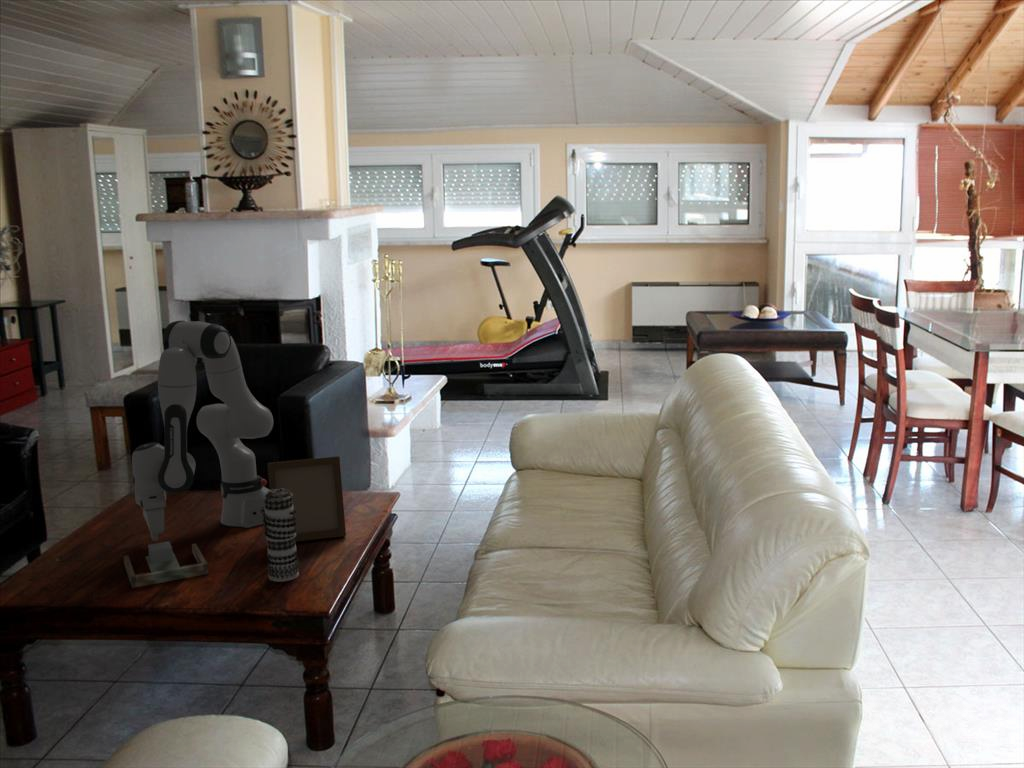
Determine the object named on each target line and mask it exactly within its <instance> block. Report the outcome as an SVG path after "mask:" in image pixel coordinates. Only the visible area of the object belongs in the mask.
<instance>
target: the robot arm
mask: <svg viewBox="0 0 1024 768" xmlns="http://www.w3.org/2000/svg"><path fill="white" fill-rule="evenodd" d="M162 344H163V345H162V346H163V352H161V354H160V358H159V365H158V370H157V392H158V393H157V394H158V399H159V404H160V411H161V414H162V421H163V428H164V446H163V445H162V444H160V443H159V442H147V443H143V444H140V445H139V446H137V447H136V448H135V449H134V450H133V452H132V454H131V455H132V457H131V459H132V460H131V467H132V476H133V477H134V478H133V479H134V485H133V486H134V488H133V489H134V499H135V503H136V505H138V506H140V508H141V509H142V514H143V518H144V520H145V522H146V524H147V526H148V529H149V531H150V537H151V540H152V541H158V540H159V534H163V533H164V532H165V531H164V530H165V508H166V507H167V506H166V505H167V503H166V501H167V493H168V494H172V495H179V494H183V493H185V492H187V491H188V490H189V489H190V488H191V487H192V485H193V483H194V482H195V481H194V480H195V479H194V478H195V473H196V472H195V471H196V469H197V464H196V459H195V457H194V456H193V455H192V454H191V453H190V452H189V451H188V426H189V422H190V419H191V416H192V413H193V410H194V407H195V403H196V400H197V399H196V397H197V390H198V389H197V388H198V386H197V385H198V384H197V383H198V382H197V370H196V364H197V362H198V360H199V359H201V358H202V359H203V365H204V370H205V375H206V379H207V383H208V387H209V391H210V392H211V394H212V395H213V396H214V397H216V398H217V399H219V400H220V401H222V402H223V403H214V404H207V405H204V406H202V407H201V408H200V409H199V411H198V412H197V414H196V415H197V416H196V419H195V420H196V421H195V422H196V426H197V429H198V431H199V432H200V433H201V434H202V435H203V436H204V437H206V438H207V439H208V440H209V441H210V443H211V444H212V446H213V447H214V450H216V453H217V455H218V459H219V464H220V471H221V472H220V473H221V480H220V492H221V497H222V510H221V516H220V517H221V518H220V521H219V522H220V524H222V525H224V526H227V527H241V528H246V529H249V528H253V527H257V526H262V525H265V524H264V522H263V520H264V519H263V518H264V517H263V514H262V513H263V512H264V511H265V509H264V507H265V501H264V498H263V497H264V496H265V495H266V494H267V492H268V491H269V488H268V487H266V486H267V484H268V481H267V480H266V479H265V478H263V477H261V476H260V475H258V474H257V463H256V460H257V459H256V456H255V455H256V454H255V453H254V452H253V451H252V449H250V448H248V447H247V446H246V445H244V444H243V442H242V441H241V439H247V440H248V439H249V440H250V439H251V440H254V439H258V438H264V437H267V436H268V435H269V434H270V433H271V431H272V430H273V427H274V417H273V414H272V412H271V410H270V409H269V408H268V407H266V406H265V405H263V404H262V403H260V402H259V401H258V400H257V399H256V397H255V396H254V395H253V394H252V393H251V391H250V389H249V387H248V385H247V382H246V378H245V375H244V371H243V365H242V361H241V358H240V357H241V356H240V354H239V351H238V347H237V345H236V343H235V341H234V338H233V337H232V336H231V334H230V332H229V331H228V329H227V328H225V327H224V326H222V325H220V324H216V323H210V322H205V321H199V320H198V321H196V320H195V321H190V320H187V321H186V320H176V321H171V322H170V323H169V324H168V325H167V326H166V328H165V329H164V332H163V336H162ZM198 358H199V359H198ZM265 516H266V514H265ZM265 521H266V520H265Z"/></svg>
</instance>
